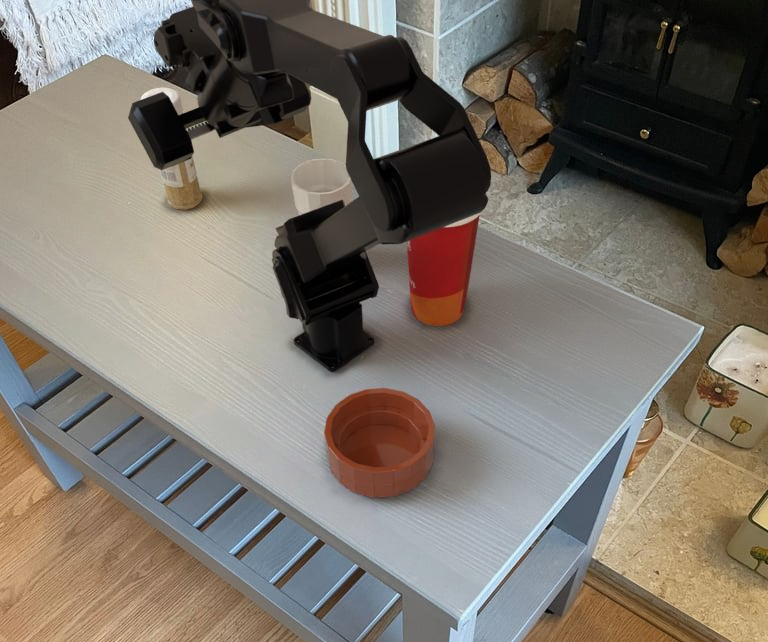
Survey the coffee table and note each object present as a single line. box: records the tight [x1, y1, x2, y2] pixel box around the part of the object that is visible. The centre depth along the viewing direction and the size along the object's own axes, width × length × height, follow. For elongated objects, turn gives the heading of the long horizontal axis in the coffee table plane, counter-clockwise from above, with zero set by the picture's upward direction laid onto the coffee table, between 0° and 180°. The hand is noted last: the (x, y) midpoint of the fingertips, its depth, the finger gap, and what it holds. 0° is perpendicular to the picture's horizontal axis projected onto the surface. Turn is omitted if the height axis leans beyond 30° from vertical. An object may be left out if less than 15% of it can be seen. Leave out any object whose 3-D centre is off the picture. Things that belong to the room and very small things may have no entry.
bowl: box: [323, 387, 436, 498], centre depth 77 cm, size 10×10×4 cm
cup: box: [290, 157, 353, 216], centre depth 91 cm, size 7×7×11 cm
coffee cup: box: [406, 212, 482, 327], centre depth 84 cm, size 8×8×15 cm
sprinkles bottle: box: [139, 87, 203, 211], centre depth 97 cm, size 5×5×14 cm
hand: (205, 137), depth 90 cm, fingers open, 9 cm apart
